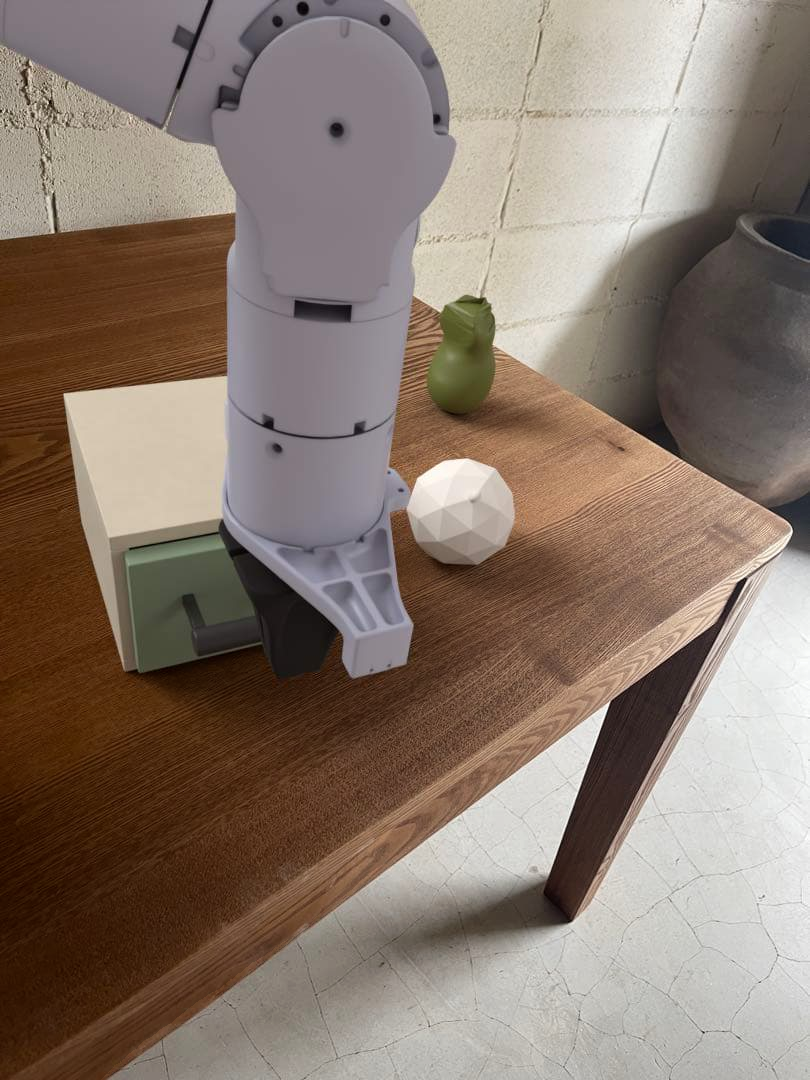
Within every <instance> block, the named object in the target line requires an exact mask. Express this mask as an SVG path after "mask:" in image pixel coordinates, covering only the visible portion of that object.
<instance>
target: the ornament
mask: <svg viewBox="0 0 810 1080" xmlns="http://www.w3.org/2000/svg"><path fill="white" fill-rule="evenodd" d="M513 495H514V494H513V492H512V491H511V489H510V487H509V486H508V485H507V482H506V481H505V480H504V478H503V476H501V474H500V472H499V471H498V469H497V468H496V467H493V466H491V465H487V464H484V463H482V462H479V461H477V460H473V459H471V458H468V457H467V458H457V459H449V460H443V461H442V462H440V463H438V464H436V465H434V466H433V467H432V468H430V469H429V470H427V471H426V472H425V473H423V474H421V475H420V476H418V477H417V478H416V480H415V483H414V487H413V490H412V491H411V494H410V500H409V505H408V506H407V508H405V509H406V514H407V517H408V521H409V524H410V528H411V531H412V534H413V537H414V540H415V542H416V543H417V544H418V546H419V547H420V548H421V550H423V551H424V553H425V554H426V555H427V556H429V557H431V558H433V559H435V560H436V561H438V562H441V563H443V564H449V565H450V564H452V565H473V566H475V565H476V566H477V565H480V564H482V563H483V562H484V561H485V560H487V559H489V558H490V557H491V556H493V555H494V554H496V553H498V552H499V551H500V550H502V549H504V548H505V547H506V544H507V542H508V539H509V537H510V535H511V532H512V530H513V527H514V524H515V520H516V519H515V517H516V511H515V503H514V496H513Z"/></svg>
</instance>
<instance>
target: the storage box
mask: <svg viewBox="0 0 810 1080" xmlns="http://www.w3.org/2000/svg"><path fill="white" fill-rule="evenodd" d="M226 399H227V375H223V376H212V377H204V378H192V379H186V380H175V381H167V382H166V381H165V382H157V383H148V384H140V385H131V386H119V387H111V388H102V389H101V388H100V389H94V390H92V389H91V390H83V391H74V392H66V393H65V392H64V393H63V402H64V407H65V415H66V422H67V429H68V436H69V443H70V449H71V450H70V451H71V458H72V465H73V470H74V471H73V472H74V478H75V485H76V492H77V499H78V507H79V514H80V519H81V520H80V521H81V525H82V528H83V531H84V536H85V538H86V542H87V546H88V549H89V554H90V556H91V560H92V563H93V566H94V571H95V574H96V578H97V581H98V585H99V588H100V592H101V595H102V598H103V602H104V605H105V609H106V612H107V616H108V619H109V623H110V626H111V630H112V634H113V637H114V640H115V644H116V647H117V650H118V655H119V658H120V661H121V664H122V668H123V671H124V672H130V671H134V670H138V668H137V665H136V661H135V657H134V648H133V638H132V629H131V619H130V610H129V600H128V591H127V581H126V571H125V562H124V551H127V550H129V548H132V547H137V546H143V545H148V544H154V543H159V542H165V541H170V540H176V539H181V538H187V537H192V536H198V535H203V534H209V533H214V532H219V523H220V522H221V520H222V519H223V516H222V488H223V480H224V472H225V463H226V455H227V440H226V438H225V400H226Z"/></svg>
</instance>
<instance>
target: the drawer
mask: <svg viewBox="0 0 810 1080" xmlns="http://www.w3.org/2000/svg"><path fill="white" fill-rule="evenodd" d="M124 562H125V571H126V581H127V591H128V600H129V610H130V619H131V629H132V638H133V648H134V657H135V661H136V665H137V668H138V669H137V672H138V673H139V674H142V673H146V672H151V671H155V670H159V669H163V668H168V667H172V666H176V665H180V664H185V663H189V662H193V661H197V660H201V659H206V658H209V657H213V656H218V655H221V654H222V655H223V654H226V653H231V652H235V651H238V650H242V649H247V648H252V647H256V646H261V645H262V641H261V637H260V633H259V629H258V625H257V620H256V616H255V612H254V608H253V604H252V601H251V600H250V598H249V596H248V595H247V593H246V591H245V589H244V587H243V584H242V582H241V580H240V578H239V576H238V573H237V571H236V569H235V567H234V565H233V560H232V559H231V557H230V556H229V554H228V551H227V549H226V547H225V545H224V543H223V540H222V538H221V536H220V534H219V532H214V533H209V534H203V535H198V536H192V537H187V538H181V539H176V540H170V541H165V542H159V543H154V544H148V545H143V546H137V547H132V548H129V550H127V551H124Z"/></svg>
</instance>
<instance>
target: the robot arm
mask: <svg viewBox="0 0 810 1080" xmlns="http://www.w3.org/2000/svg"><path fill="white" fill-rule="evenodd" d="M0 45H1V46H3V47H4V48H6V49H9V50H10V51H12V52H14V53H16V54H17V55H20V56H22V57H23V58H25V59H27V60H29V61H31V62H33V63H35V64H36V65H38V66H40V67H42V68H44V69H46V70H47V71H49V72H51V73H53V74H56V75H57V76H59V77H61V78H62V79H64V80H66V81H67V82H70V83H71V84H74V85H75V86H77V87H79V88H82V89H83V90H85V91H87V92H89V93H90V94H93V95H95V96H96V97H98V98H100V99H101V100H103V101H106V102H108V103H109V104H111V105H113V106H115V107H117V108H119V109H121V110H122V111H125V112H126V113H128V114H130V115H132V116H134V117H136V118H137V119H139V120H142V121H143V122H145V123H147V124H149V125H151V126H152V127H155V128H156V129H158V130H160V131H163V129H164V127H165V126H166V128H165V133H166V134H167V135H169V136H172V137H173V138H175V139H177V140H179V141H180V142H183V143H189V144H190V143H191V144H199V145H206V146H209V147H213V148H215V150H216V154H217V157H218V159H219V162H220V165H221V167H222V170H223V172H224V174H225V176H226V178H227V180H228V182H229V183H230V185H231V186H232V188H233V191H235V212H234V213H235V214H234V215H235V223H234V224H235V226H234V227H235V228H234V230H235V233H234V234H235V236H234V237H235V239H234V240H233V242H232V244H231V245H230V247H229V250H228V253H227V259H226V370H227V371H226V376H227V399H226V400H225V438H226V440H227V455H226V463H225V472H224V480H223V488H222V516H223V519H222V520H221V522H220V523H219V534H220V536H221V538H222V540H223V543H224V545H225V547H226V549H227V551H228V554H229V556H230V557H231V559H232V560H233V565H234V567H235V569H236V571H237V573H238V576H239V578H240V580H241V582H242V584H243V587H244V589H245V591H246V593H247V595H248V596H249V598H250V600H251V601H252V604H253V608H254V612H255V616H256V620H257V625H258V629H259V633H260V637H261V641H262V644H261V645H262V648H263V651H264V653H265V656H266V658H267V660H268V663H269V664H270V667H271V669H272V671H273V674H274V676H275V678H276V680H279V681H281V680H282V681H283V680H285V679H291V678H294V677H297V676H301V675H305V674H309V673H312V672H313V673H314V672H316V671H320V669H321V668H322V666H323V665H324V662H325V660H326V658H327V656H328V654H329V653H330V651H331V648H332V646H333V644H334V643H335V640H336V638H337V636H338V635H339V633H340V634H341V636H342V639H343V645H342V653H341V662H342V664H343V665H344V667H345V669H346V671H347V673H348V675H349V677H350V678H351V679H356V678H361V677H364V676H367V675H374V674H377V673H381V672H384V671H389V670H391V669H395V668H397V667H402V666H405V665H406V664H407V662H408V656H409V651H410V646H411V641H412V636H413V631H414V626H415V625H414V623H413V621H412V619H411V617H410V615H409V614H408V611H407V610H406V608H405V605H404V603H403V600H402V596H401V592H400V588H399V582H398V573H397V565H396V558H395V547H394V539H393V532H392V523H391V513H393V512H399V511H402V510H405V509H407V506H408V505H409V500H410V497H411V495H412V491H411V489H410V487H409V486H408V485H407V484H406V482H405V480H404V479H403V478H402V476H400V474H399V472H397V471H396V470H395V469H394V468H392V467H389V465H390V460H391V459H390V458H391V451H392V445H393V444H392V443H393V438H394V430H395V422H396V416H397V415H396V414H397V408H398V404H399V397H400V390H401V382H402V375H403V369H404V362H405V354H406V348H407V340H408V334H409V327H410V320H411V313H412V305H413V299H414V292H415V285H416V272H415V268H414V265H413V257H414V250H415V247H416V245H417V242H418V240H419V236H420V232H421V219H422V218H421V215H422V214H423V213H424V212H425V211H426V210H427V208H428V207H429V206H430V205H431V204H432V203H433V201H434V199H435V198H436V197H437V196H438V193H439V192H440V190H441V189H442V187H443V185H444V183H445V181H446V179H447V177H448V174H449V172H450V170H451V167H452V165H453V160H454V157H455V154H456V149H457V141H456V139H455V137H454V136H453V135H451V134H450V118H451V117H450V116H451V109H450V99H449V90H448V86H447V82H446V78H445V75H444V72H443V68H442V66H441V63H440V61H439V59H438V57H437V55H436V52H435V50H434V48H433V46H432V44H431V42H430V40H429V39H428V36H427V34H426V32H425V30H424V28H423V26H422V23H421V22H420V20H419V18H418V17H417V13H416V12H415V11H414V9H413V8H412V6H411V4H410V3H409V1H407V0H0ZM166 123H167V125H166Z"/></svg>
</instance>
